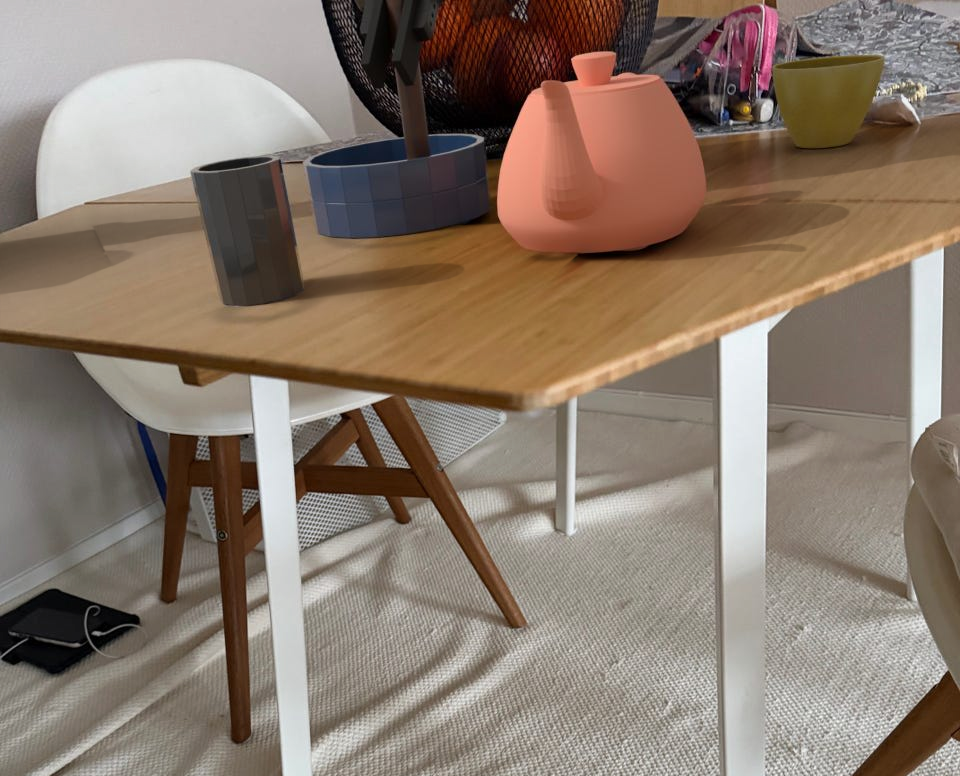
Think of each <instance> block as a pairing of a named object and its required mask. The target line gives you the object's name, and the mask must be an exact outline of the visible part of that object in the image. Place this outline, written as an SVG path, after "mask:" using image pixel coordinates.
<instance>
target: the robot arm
mask: <svg viewBox="0 0 960 776" xmlns="http://www.w3.org/2000/svg"><path fill="white" fill-rule="evenodd" d="M445 1H446V0H404V4H403V9H402V14H401V19H400V23H399V28H398V33H397V38H396V43H395V47H394V52H393V51H392V43H391V36H390V29H389V21H388V14H387V7H386V0H354V3H355V4H356V5H357V7H358V9H359V10H360V12H363V13H362V18H361V23H360V27H359V30H360V31H359V32H360V35H361V37H362V38H363V40H364V45H363V50H362V55H361V60H360V67H361V68H362V70H363V72H364V73H365V76H367V78H368V80H369V82H370V83H371V85H372V87H373V88H374V89H375V90H379V89H384V87H385V82H386V78H387V74H388V68H389V63H390V59H391V63H392V66H393V67H394V70H395V69H396V70H397V72H398V74H399V76H400V77H401V79H402V81H403V83H404V85H405V86H411V85H414V83H415V78H416V73H417V68H418V63H419V64H420V57H421V52H422V48H423V43H424V42H430V41H431V40H432V38H433V36H434V35H435V34H434V33H435V29H436V24H437V18H438V14H439V9H440V8H441V7H442V6H443V4H444V2H445ZM453 1H455V2H457V1H459V0H453ZM391 53H392V56H391Z"/></svg>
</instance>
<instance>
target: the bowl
mask: <svg viewBox="0 0 960 776" xmlns="http://www.w3.org/2000/svg"><path fill="white" fill-rule="evenodd" d="M428 136H429V144H430V152H431V156H427V157H421V158H415V159H408V160H407V154H406V146H405V139H404V136H402V137H394V138H387V139H379V140H374V141H369V142H367V141H366V142H363V143H357V144H351V145H347V146H342V147H337V148H334V149H329V150H326V151H322V152H319V153H317V154H314V155H311V156H309V157H306V159H305V160H303V162H302V167H303V172H304V177H305V182H306V188H307V189H306V190H307V193H308V200H309V205H310V210H311V216H312V222H313V228H314V230H315V231H316V232H317V233H318V234H319V235H322V236H326V237H328V238H329V237H330V238H344V239H368V238H369V239H373V238H385V237H393V236H394V237H395V236H403V235H404V236H405V235H411V234H419V233H422V232H423V233H425V232H428V231H429V232H430V231H435V230H440V229H444V228H447V227H452V226H453V227H454V226H464V225H466V224H468V223H470V222H472V221H473V220H474V219H477V218H479V217H481V216H483V215H484V214H486V213H488V212H490V210H491V205H492V202H491V193H490V181H489V171H488V170H489V169H488V163H487V162H488V161H487V160H488V159H487V151H486V141H485V140H486V139H485V137H484V136H480V135H478V134H471V133H470V134H469V133H435V134H428Z"/></svg>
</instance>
